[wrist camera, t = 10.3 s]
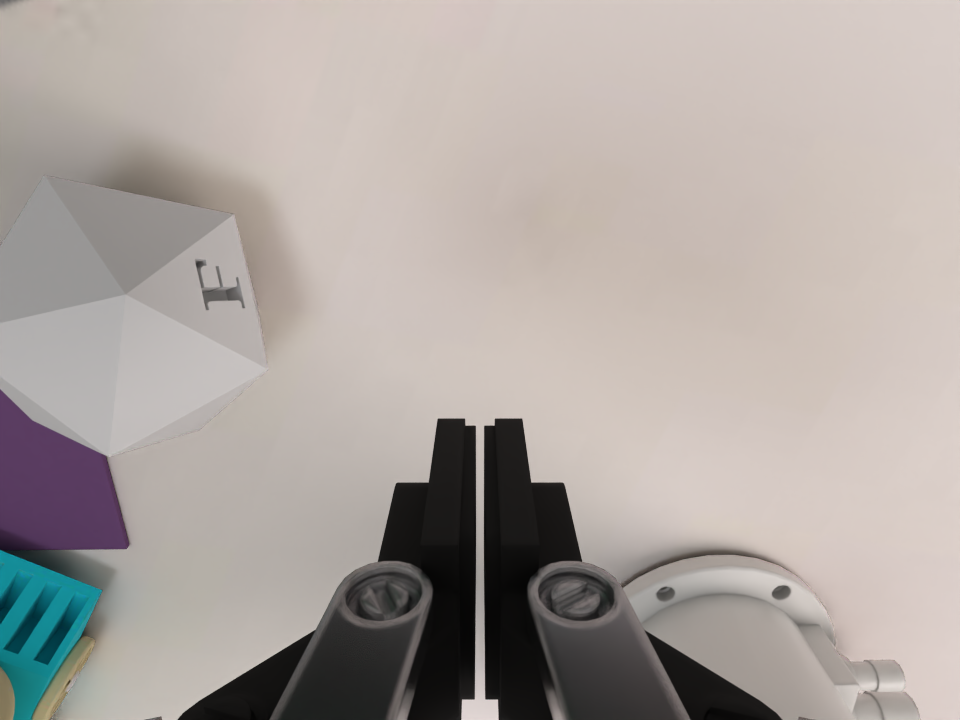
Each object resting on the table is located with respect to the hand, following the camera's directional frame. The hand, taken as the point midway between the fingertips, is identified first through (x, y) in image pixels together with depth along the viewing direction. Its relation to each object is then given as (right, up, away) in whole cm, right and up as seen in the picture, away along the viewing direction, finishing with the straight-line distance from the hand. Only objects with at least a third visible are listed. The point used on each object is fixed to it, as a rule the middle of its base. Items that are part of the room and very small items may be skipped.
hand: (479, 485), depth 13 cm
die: (-12, +5, +13) cm, 18 cm away
